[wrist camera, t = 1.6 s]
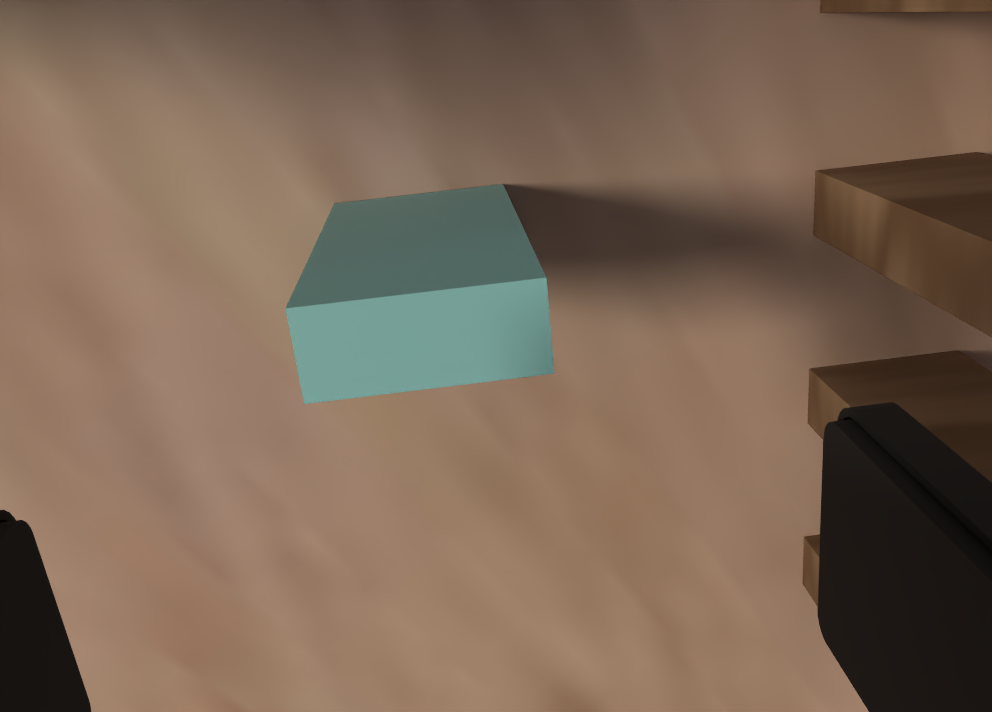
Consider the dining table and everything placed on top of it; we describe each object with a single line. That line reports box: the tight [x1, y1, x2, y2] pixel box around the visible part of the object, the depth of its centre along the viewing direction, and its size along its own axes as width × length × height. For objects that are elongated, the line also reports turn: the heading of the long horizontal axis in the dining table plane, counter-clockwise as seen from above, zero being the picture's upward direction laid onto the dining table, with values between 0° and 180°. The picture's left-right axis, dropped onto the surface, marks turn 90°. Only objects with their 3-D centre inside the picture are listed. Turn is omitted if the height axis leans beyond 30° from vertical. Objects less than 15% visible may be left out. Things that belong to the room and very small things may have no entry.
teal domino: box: [286, 184, 554, 404], centre depth 22 cm, size 2×5×10 cm, turn 96°
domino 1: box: [814, 152, 992, 337], centre depth 23 cm, size 2×5×10 cm, turn 95°
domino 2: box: [808, 351, 992, 483], centre depth 25 cm, size 2×5×10 cm, turn 96°
